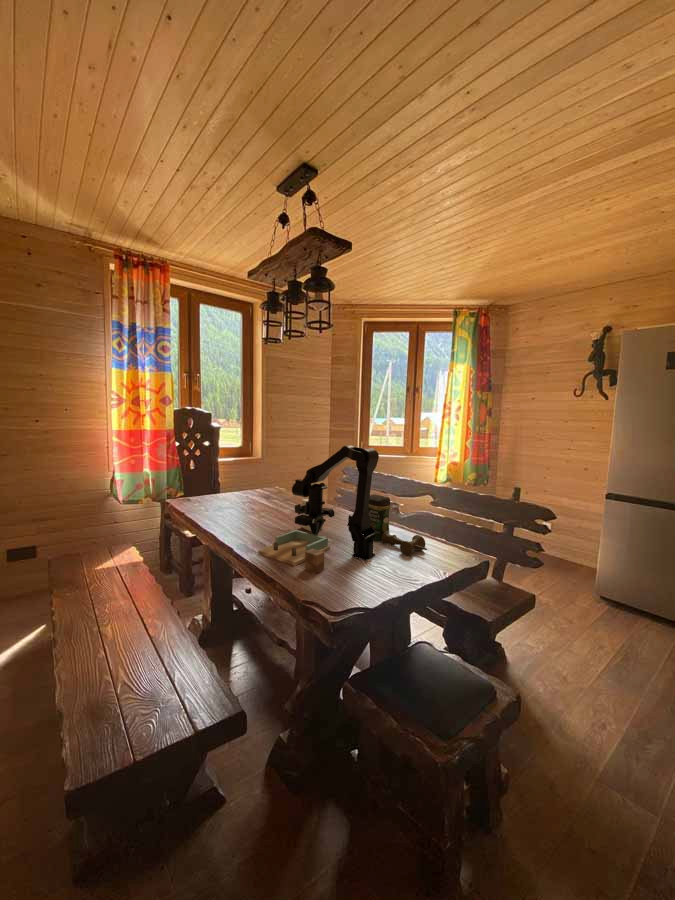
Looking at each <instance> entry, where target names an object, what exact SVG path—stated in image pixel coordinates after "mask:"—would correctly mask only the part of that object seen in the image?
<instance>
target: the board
mask: <svg viewBox="0 0 675 900" xmlns="http://www.w3.org/2000/svg"><path fill="white" fill-rule="evenodd" d="M309 544H311V542H308V541H304V540H300V539H297V538H296V539H293V540H290V541H288V542H285V543H283V544H280V545H278V543H277V542H273V544H272V545H269V546H267V547H264V548H261V549H259V550H258V554H259V555H262V556H264V557H267V558H269V559H270V558H271V559H273V560H276V561H280V562H283V563H285V564H288V565H291V566H294V567H295V566H298V565H300V564H301V563H305V552H306V545H309ZM330 549H331V546H330V545H328V546H326V547H324V548H322V549H319V551H323V552H324V553H325V552H327V551H329V550H330Z"/></svg>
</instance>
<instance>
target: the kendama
mask: <svg viewBox="0 0 675 900" xmlns="http://www.w3.org/2000/svg"><path fill="white" fill-rule="evenodd" d="M380 543H381V544H383V545H387V544H389V545H390V546H393V547H394V546H395V545H397V546H398V545H399V549H400V553H401V554H403V555H405V556H407V557H409V556H411V555H412V554H413V552H414V550H417V551H423V550H424V551H428V548H426V540H425V538H424V537H423V535H419V534H416V535H413V536H412V538H411V541H408V540H403V539H401V538H399V537H398V536H397V535H396V534H390V532H389V533H388V532H384V533H383V534H382V536H381V542H380Z"/></svg>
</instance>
